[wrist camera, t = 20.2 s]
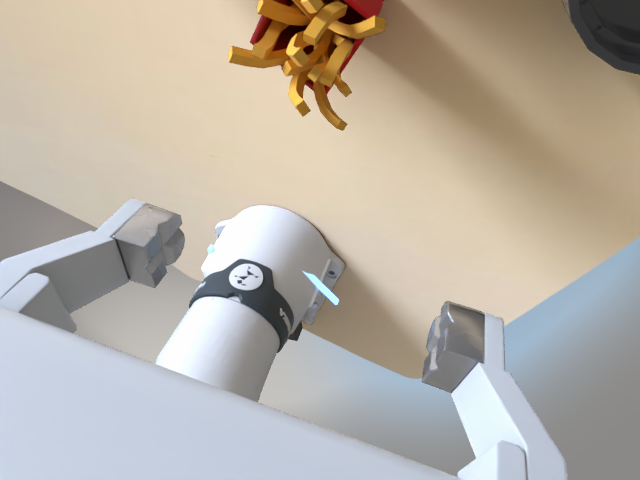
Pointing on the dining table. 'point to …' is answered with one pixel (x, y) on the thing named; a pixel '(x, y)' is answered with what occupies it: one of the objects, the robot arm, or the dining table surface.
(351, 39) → the french fries
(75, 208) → the dining table surface
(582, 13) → the pan
